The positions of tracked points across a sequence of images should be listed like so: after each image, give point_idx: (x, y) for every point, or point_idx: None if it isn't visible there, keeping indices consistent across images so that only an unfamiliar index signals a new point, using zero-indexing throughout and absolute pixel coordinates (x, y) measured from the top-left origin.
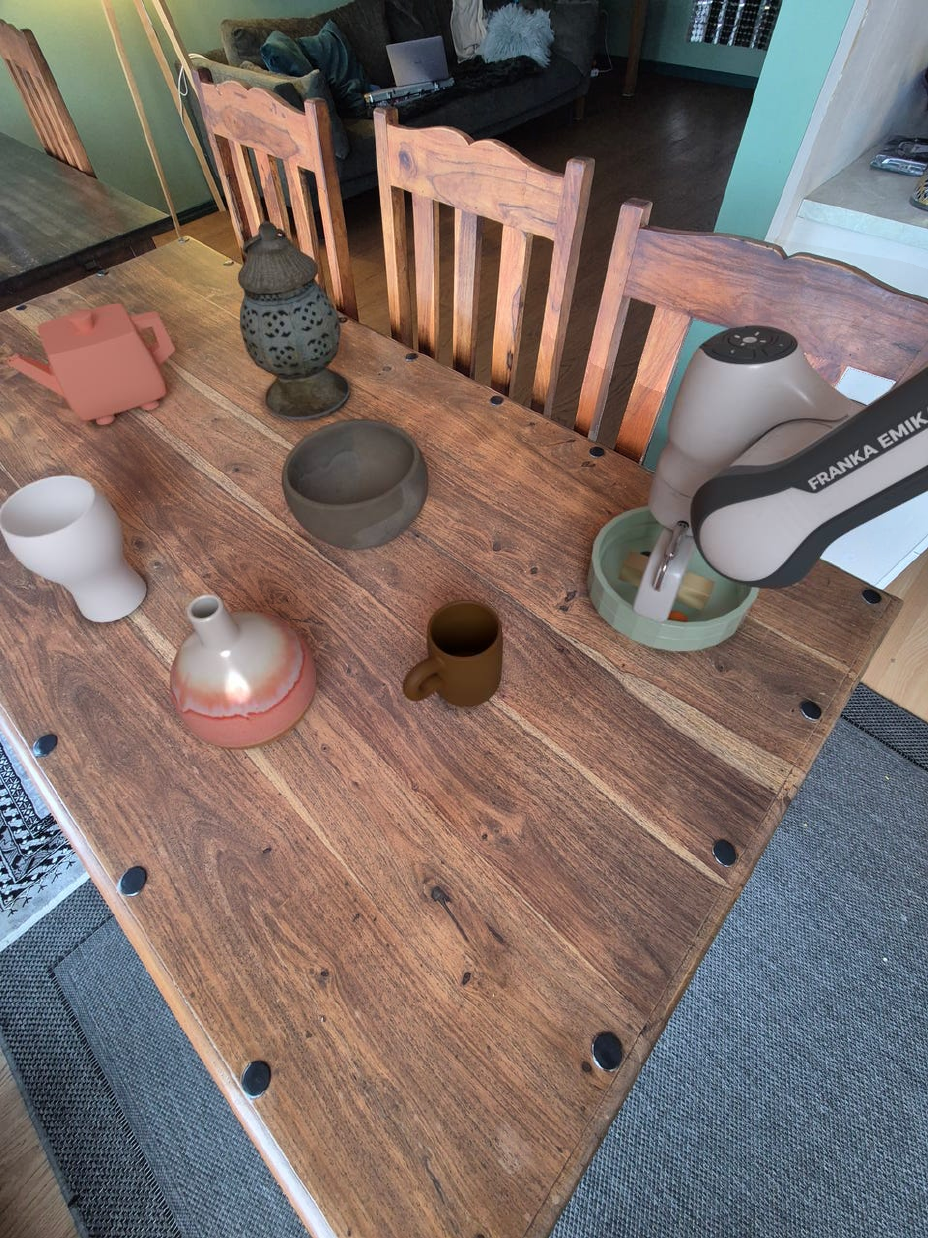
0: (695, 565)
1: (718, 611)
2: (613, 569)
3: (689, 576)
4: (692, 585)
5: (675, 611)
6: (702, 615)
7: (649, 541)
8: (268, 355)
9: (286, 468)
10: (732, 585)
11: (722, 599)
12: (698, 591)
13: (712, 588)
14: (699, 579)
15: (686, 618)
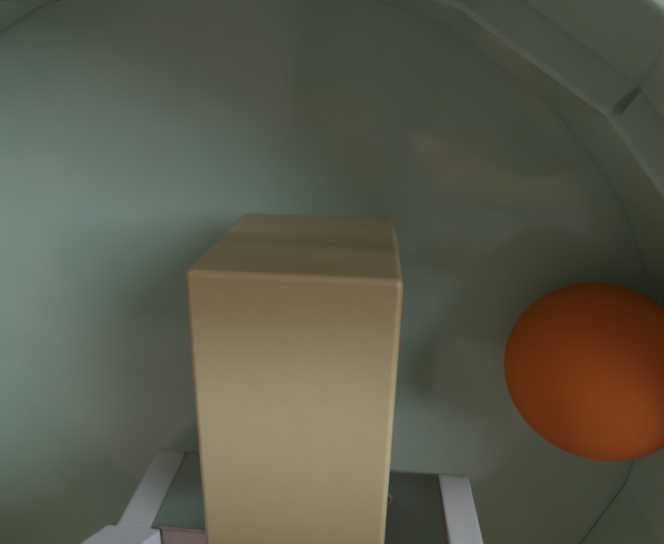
0: (8, 304)
1: (298, 92)
2: None
3: (254, 483)
4: (342, 445)
5: (570, 435)
6: (378, 187)
7: (6, 523)
8: None
9: None
10: (16, 48)
11: (177, 89)
12: (392, 391)
13: (291, 281)
14: (242, 407)
15: (607, 351)
